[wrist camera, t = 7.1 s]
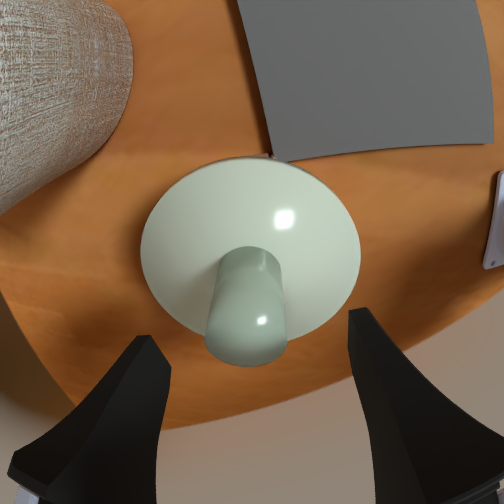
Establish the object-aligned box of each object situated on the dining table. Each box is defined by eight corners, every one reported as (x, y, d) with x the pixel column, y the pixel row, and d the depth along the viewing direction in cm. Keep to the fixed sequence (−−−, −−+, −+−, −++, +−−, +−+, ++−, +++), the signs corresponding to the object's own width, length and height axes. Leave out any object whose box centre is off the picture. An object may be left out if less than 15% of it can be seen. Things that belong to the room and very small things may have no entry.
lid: (356, 145, 10) (411, 186, 6) (349, 324, 16) (368, 395, 12) (119, 179, 11) (58, 233, 7) (180, 339, 17) (163, 407, 13)
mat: (448, -56, 5) (452, -58, 5) (488, 141, 13) (493, 143, 12) (216, -69, 7) (214, -73, 7) (274, 160, 14) (275, 163, 14)
